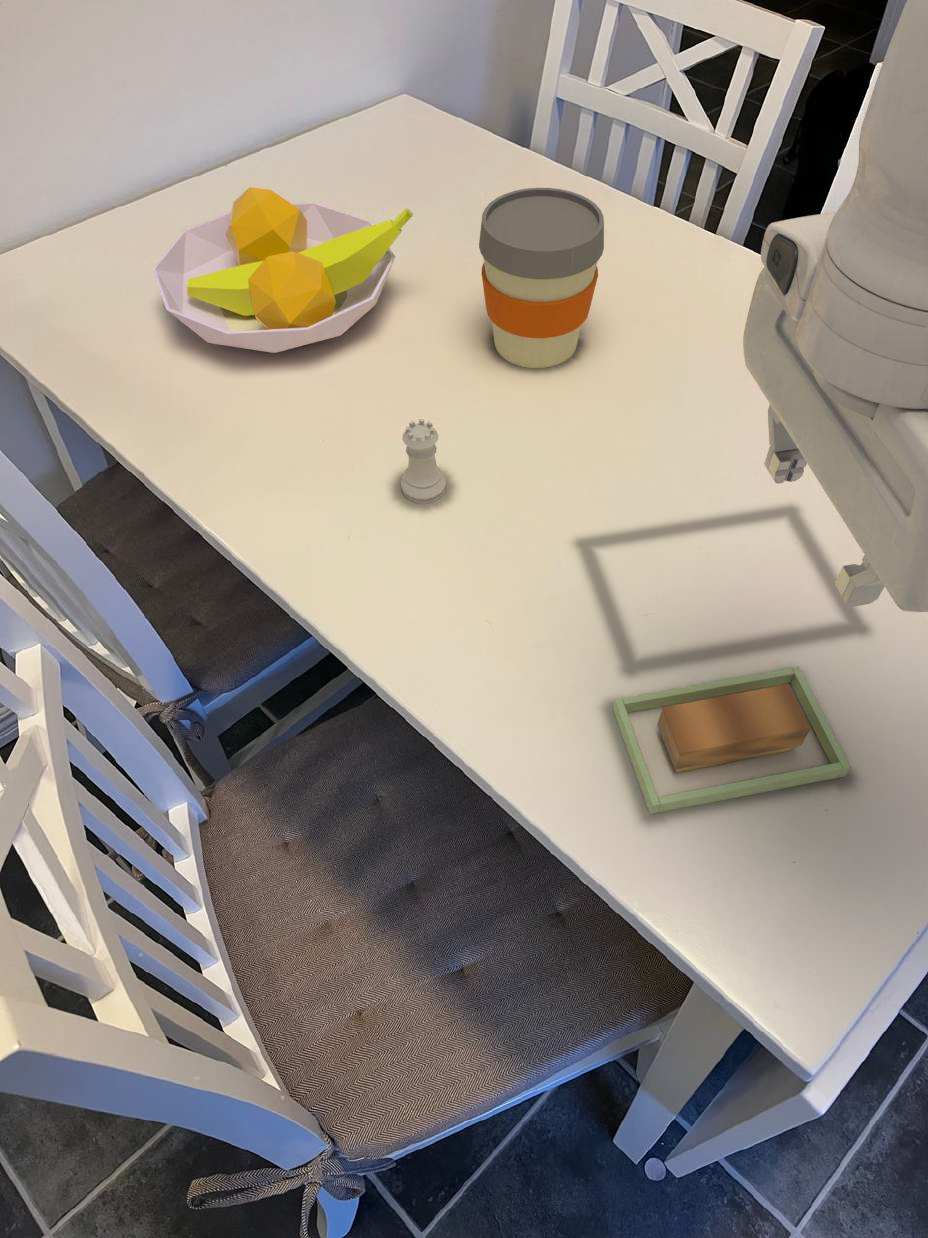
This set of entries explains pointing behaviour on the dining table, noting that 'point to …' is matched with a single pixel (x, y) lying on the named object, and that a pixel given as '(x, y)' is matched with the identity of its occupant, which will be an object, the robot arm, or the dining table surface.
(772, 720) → the tan wooden brick
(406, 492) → the rook chess piece
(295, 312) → the fruit bowl
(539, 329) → the reusable coffee cup
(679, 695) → the rectangular frame
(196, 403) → the dining table surface
